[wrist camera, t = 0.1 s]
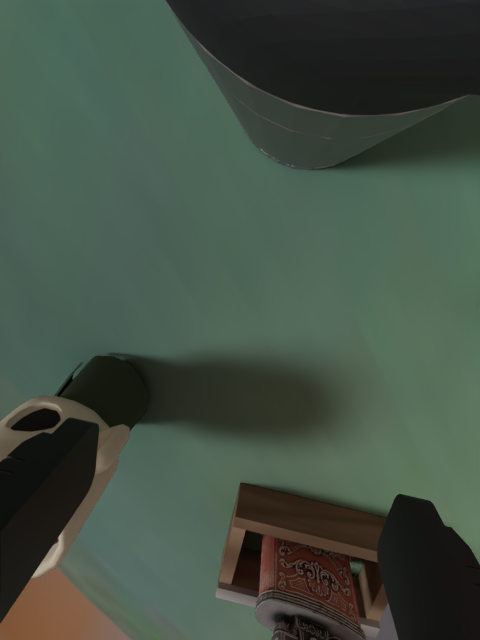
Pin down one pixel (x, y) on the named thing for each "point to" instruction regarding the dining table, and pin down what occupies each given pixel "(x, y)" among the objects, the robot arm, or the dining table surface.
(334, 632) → the lighter
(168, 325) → the dining table surface
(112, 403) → the character mug
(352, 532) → the holder
